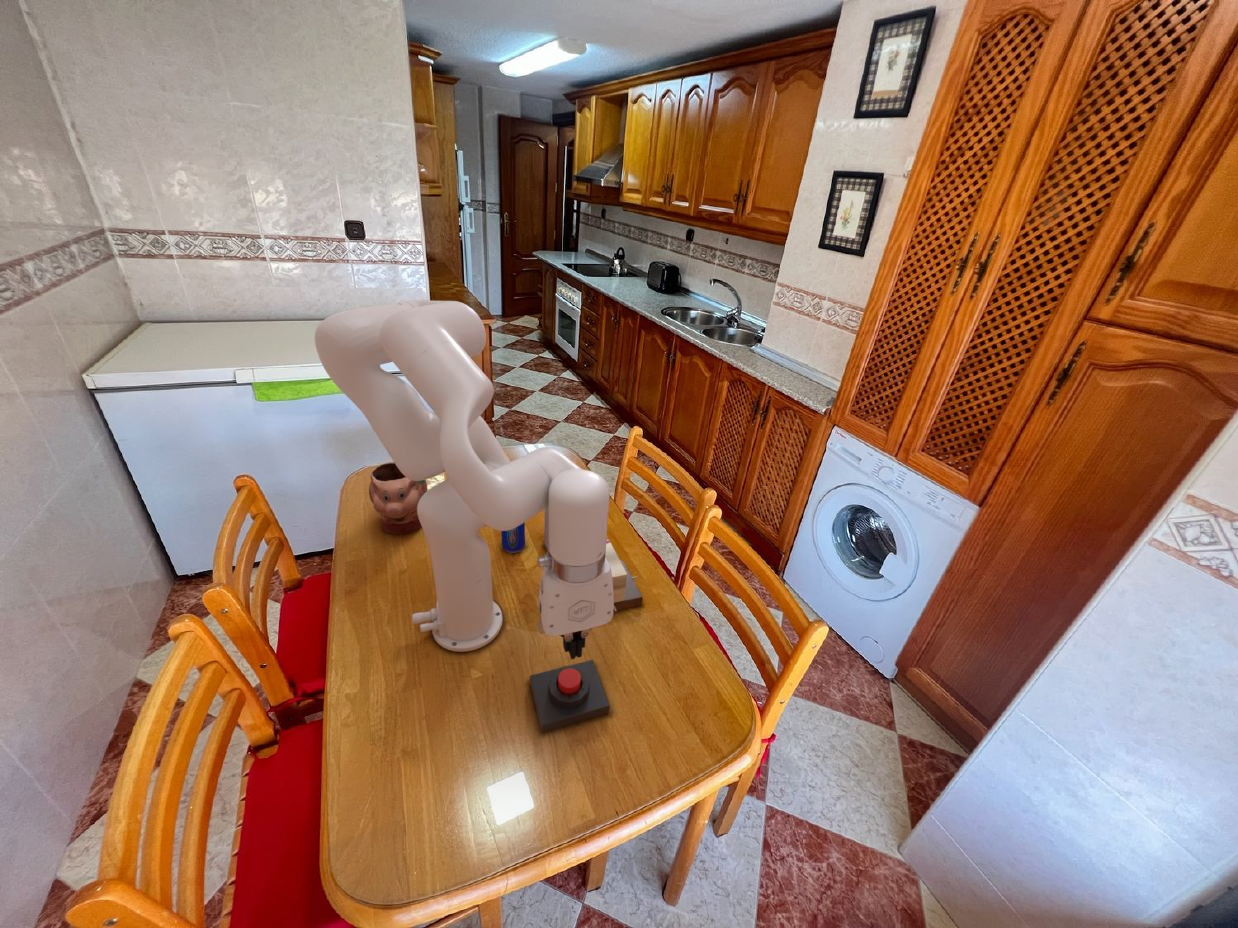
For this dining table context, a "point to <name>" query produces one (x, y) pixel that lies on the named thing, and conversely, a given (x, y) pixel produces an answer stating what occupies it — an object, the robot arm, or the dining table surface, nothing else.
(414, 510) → the decorative planter
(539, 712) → the button block
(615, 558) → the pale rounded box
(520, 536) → the beverage can
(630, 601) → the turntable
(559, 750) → the dining table surface
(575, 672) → the button
